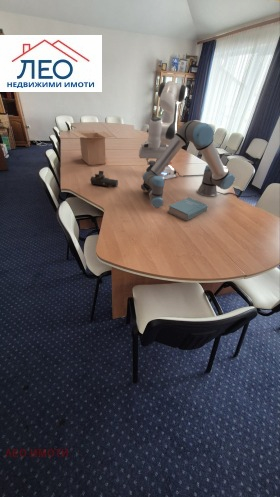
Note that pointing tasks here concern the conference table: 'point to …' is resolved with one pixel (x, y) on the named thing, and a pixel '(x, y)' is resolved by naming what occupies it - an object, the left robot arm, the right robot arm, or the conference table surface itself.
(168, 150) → the right robot arm
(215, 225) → the conference table surface
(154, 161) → the cap
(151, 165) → the bottle
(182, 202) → the book
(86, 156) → the box
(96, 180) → the laser sight
